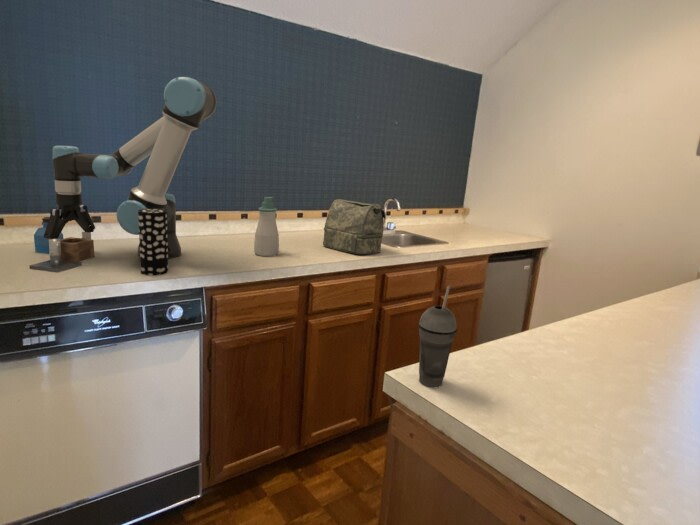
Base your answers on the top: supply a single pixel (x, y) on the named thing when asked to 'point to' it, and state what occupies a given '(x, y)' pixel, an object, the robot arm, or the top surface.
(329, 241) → the lunch bag
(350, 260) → the top surface
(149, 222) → the white-spotted black cylinder
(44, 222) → the perfume bottle
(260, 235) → the soap bottle
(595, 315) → the top surface
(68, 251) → the open wooden crate
